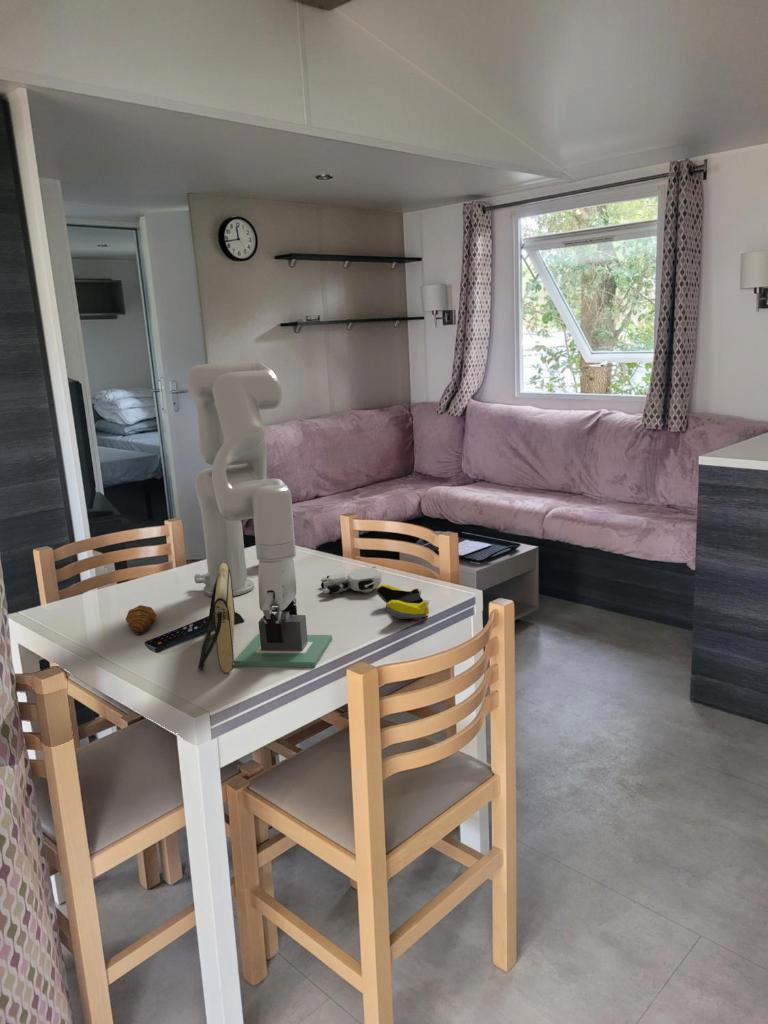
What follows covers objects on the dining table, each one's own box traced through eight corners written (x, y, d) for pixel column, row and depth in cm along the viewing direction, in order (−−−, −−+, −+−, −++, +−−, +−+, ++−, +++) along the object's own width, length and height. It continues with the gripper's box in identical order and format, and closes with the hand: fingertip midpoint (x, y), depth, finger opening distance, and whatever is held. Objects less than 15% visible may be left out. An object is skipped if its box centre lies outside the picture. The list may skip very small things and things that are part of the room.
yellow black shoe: (388, 628, 163) (434, 622, 165) (387, 603, 162) (433, 598, 164) (376, 606, 178) (418, 601, 179) (374, 583, 176) (417, 578, 178)
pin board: (234, 665, 147) (232, 645, 146) (258, 638, 161) (256, 620, 160) (314, 667, 144) (313, 646, 143) (332, 639, 158) (330, 620, 157)
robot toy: (323, 604, 184) (385, 594, 185) (320, 586, 183) (382, 576, 184) (321, 589, 196) (380, 580, 197) (319, 572, 195) (377, 563, 196)
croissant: (130, 618, 179) (128, 597, 178) (160, 614, 180) (158, 594, 179) (122, 638, 166) (119, 616, 165) (155, 634, 167) (152, 613, 166)
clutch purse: (204, 627, 169) (197, 562, 166) (236, 624, 170) (230, 559, 167) (196, 682, 141) (187, 604, 138) (235, 678, 142) (227, 600, 139)
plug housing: (261, 650, 151) (257, 616, 150) (267, 642, 155) (264, 609, 154) (302, 651, 150) (299, 617, 148) (307, 643, 153) (305, 610, 152)
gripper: (271, 538, 157) (277, 617, 161) (241, 562, 141) (250, 649, 144) (306, 538, 156) (312, 617, 160) (281, 562, 139) (288, 650, 143)
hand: (282, 632), depth 152 cm, fingers open, 9 cm apart
